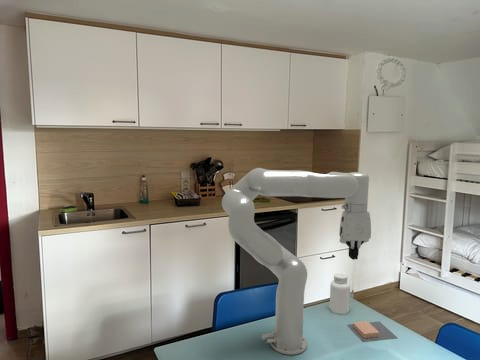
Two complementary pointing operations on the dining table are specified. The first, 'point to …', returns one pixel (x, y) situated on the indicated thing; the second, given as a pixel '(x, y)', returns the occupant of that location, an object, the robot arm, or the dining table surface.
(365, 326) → the tile
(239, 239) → the robot arm
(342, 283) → the pill bottle
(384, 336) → the mat
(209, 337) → the dining table surface
